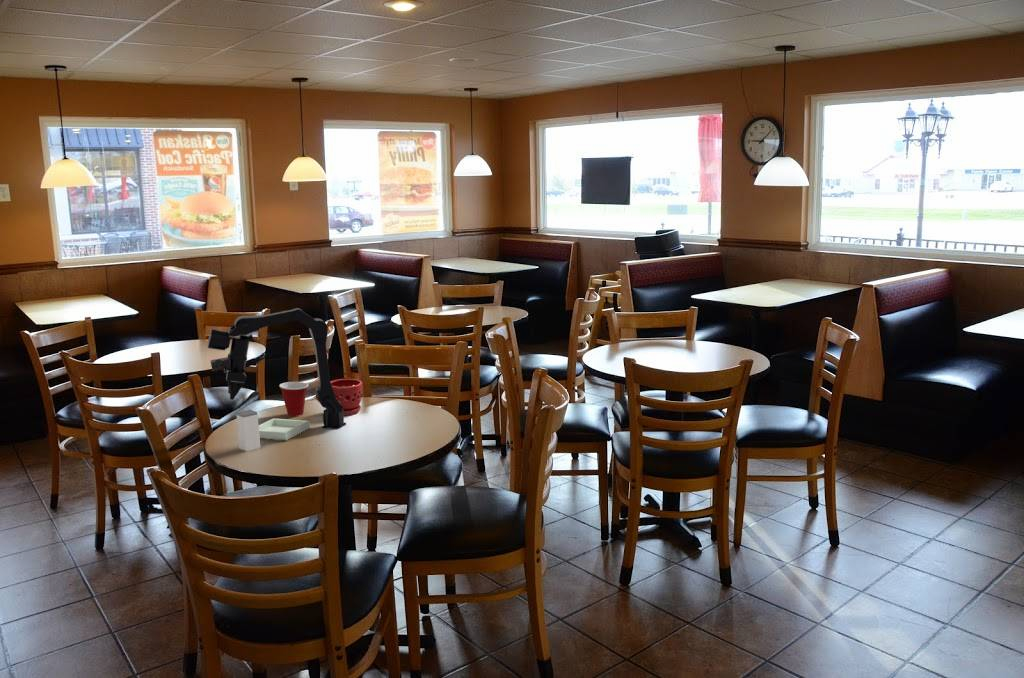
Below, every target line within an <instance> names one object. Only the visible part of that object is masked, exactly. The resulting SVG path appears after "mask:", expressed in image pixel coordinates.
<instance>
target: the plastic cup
mask: <svg viewBox="0 0 1024 678" xmlns="http://www.w3.org/2000/svg"><path fill="white" fill-rule="evenodd" d="M308 387H309V384H308V383H307V382H303V381H287V382H283V383H280V384H279V388H280V391H281V394H282V396H283V397H282V398H283V402H284V406H285V408H286V412H287V416H289V417H299V415H300V416H302V415H304V411H305V402H306V394H307V390H308Z"/></svg>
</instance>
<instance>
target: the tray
mask: <svg viewBox="0 0 1024 678" xmlns="http://www.w3.org/2000/svg"><path fill="white" fill-rule="evenodd" d="M310 427H311V426H310V420H299V419H286V418H271V419H269V420H267V421H265V422H263V423H261V424H259V435H260V438H265V439H264V440H270V439H275V440H274V441H282V440H287V441H288V439H289V440H290V438H291V439H293V438H294V437H296V436H298V435H300V434H302V433H303V431H304V432H305V430H306V431H307V429H308V430H309V428H310ZM301 432H302V433H301ZM299 433H300V434H299ZM297 434H298V435H297ZM292 437H293V438H292Z"/></svg>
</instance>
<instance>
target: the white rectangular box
mask: <svg viewBox="0 0 1024 678" xmlns="http://www.w3.org/2000/svg"><path fill="white" fill-rule="evenodd" d="M236 422H237V433H238V446H239V449H240V450H242V451H244V450H245V451H244V452H250V450H251V451H254V449H255V450H258V449H261V439H260V435H259V425H260V424H259V415H258V411H254V410H252V409H247V410H243V411H239V412H236Z"/></svg>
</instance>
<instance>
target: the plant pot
mask: <svg viewBox="0 0 1024 678" xmlns="http://www.w3.org/2000/svg"><path fill="white" fill-rule="evenodd" d="M330 382H331V385H332V388H333V390H334V394H335V397H336V399H337V400H338V401H339V402H340V403H341V404H342V406H343V408H342V409H343V416H347V415H348V416H350V415H354V414H357V413H358V412H360V410H361V408H362V407H361V401H362V399H363V398H362V397H363V381H361V380H359V379H356V378H355V379H354V378H340V379H335V380H330Z"/></svg>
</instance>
